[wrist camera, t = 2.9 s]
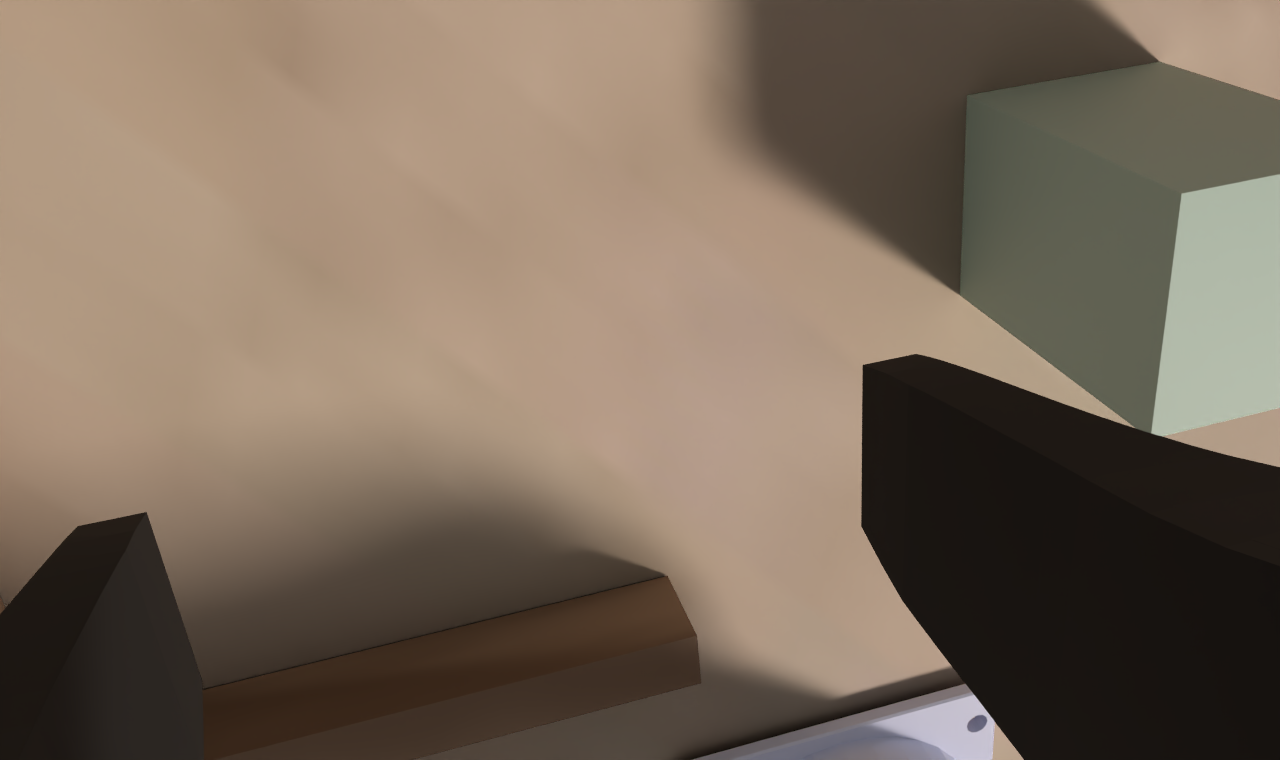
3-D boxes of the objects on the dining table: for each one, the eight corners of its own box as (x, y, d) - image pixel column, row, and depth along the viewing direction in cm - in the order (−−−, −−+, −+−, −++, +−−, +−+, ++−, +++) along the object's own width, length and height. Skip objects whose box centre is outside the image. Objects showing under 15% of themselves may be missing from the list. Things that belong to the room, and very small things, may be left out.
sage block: (1137, 257, 24) (1368, 386, 19) (959, 294, 24) (1149, 438, 19) (1159, 61, 23) (1421, 146, 17) (966, 94, 22) (1181, 193, 17)
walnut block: (672, 621, 25) (700, 682, 24) (10, 788, 23) (-12, 871, 21) (566, -414, 17) (599, -436, 15) (-519, -328, 14) (-629, -342, 12)
